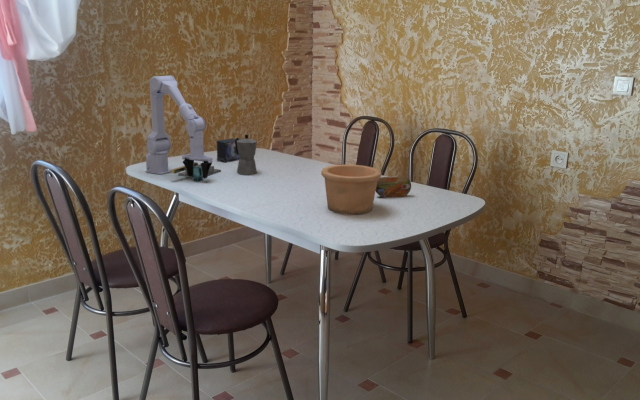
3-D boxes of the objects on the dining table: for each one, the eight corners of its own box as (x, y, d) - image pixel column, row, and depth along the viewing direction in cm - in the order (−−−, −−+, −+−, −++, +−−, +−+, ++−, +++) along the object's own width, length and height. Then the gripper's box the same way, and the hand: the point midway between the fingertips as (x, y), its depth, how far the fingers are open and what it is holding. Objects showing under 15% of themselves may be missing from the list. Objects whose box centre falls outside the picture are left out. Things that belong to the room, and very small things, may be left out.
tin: (376, 198, 217) (377, 177, 215) (373, 196, 220) (374, 176, 218) (410, 196, 221) (412, 176, 219) (407, 194, 224) (409, 174, 222)
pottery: (343, 197, 218) (345, 161, 214) (390, 208, 204) (392, 170, 200) (308, 208, 202) (309, 170, 198) (356, 221, 188) (358, 181, 184)
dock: (178, 175, 246) (177, 161, 244) (199, 168, 260) (199, 155, 258) (200, 178, 241) (199, 164, 239) (220, 171, 255) (220, 158, 253)
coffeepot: (263, 174, 252) (263, 135, 247) (247, 177, 246) (246, 137, 241) (244, 168, 263) (243, 131, 258) (227, 171, 256) (226, 133, 252)
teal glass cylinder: (191, 180, 237) (190, 167, 235) (197, 178, 241) (196, 165, 239) (199, 181, 235) (198, 168, 234) (204, 179, 239) (204, 166, 237)
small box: (225, 162, 274) (224, 142, 271) (216, 161, 277) (215, 140, 275) (240, 159, 282) (240, 139, 279) (231, 158, 286) (231, 138, 283)
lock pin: (170, 173, 233) (170, 168, 233) (192, 167, 247) (192, 161, 246) (175, 174, 232) (175, 169, 232) (197, 167, 246) (197, 162, 245)
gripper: (177, 146, 233) (178, 176, 237) (205, 149, 228) (206, 180, 231) (187, 143, 239) (188, 173, 243) (215, 146, 234) (215, 177, 237)
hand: (197, 177), depth 238 cm, fingers open, 7 cm apart
